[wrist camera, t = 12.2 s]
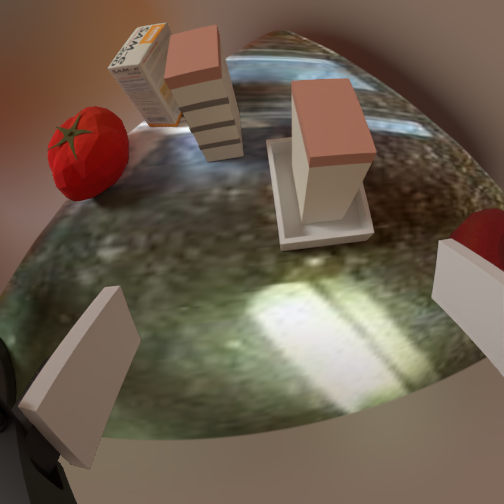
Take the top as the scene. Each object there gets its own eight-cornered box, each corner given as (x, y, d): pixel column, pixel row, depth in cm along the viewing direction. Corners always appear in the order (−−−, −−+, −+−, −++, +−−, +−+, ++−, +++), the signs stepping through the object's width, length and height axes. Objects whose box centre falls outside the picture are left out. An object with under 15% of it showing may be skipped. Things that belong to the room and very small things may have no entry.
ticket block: (207, 162, 35) (163, 79, 20) (205, 119, 36) (170, 35, 22) (244, 156, 34) (218, 66, 20) (239, 113, 36) (216, 24, 21)
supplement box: (167, 87, 39) (135, 26, 26) (195, 86, 38) (168, 20, 25) (147, 128, 37) (105, 68, 25) (177, 128, 36) (139, 62, 24)
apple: (468, 337, 26) (532, 339, 15) (406, 291, 29) (463, 275, 17) (498, 260, 28) (556, 237, 16) (442, 213, 30) (494, 172, 19)
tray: (281, 251, 31) (280, 244, 28) (267, 154, 34) (265, 140, 31) (366, 240, 30) (374, 232, 27) (344, 146, 33) (348, 132, 30)
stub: (301, 224, 31) (310, 157, 17) (291, 167, 33) (291, 81, 19) (342, 219, 31) (376, 152, 17) (329, 163, 32) (348, 78, 19)
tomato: (66, 203, 36) (20, 176, 26) (100, 130, 39) (65, 92, 29) (120, 217, 35) (72, 186, 25) (156, 133, 37) (124, 86, 27)
